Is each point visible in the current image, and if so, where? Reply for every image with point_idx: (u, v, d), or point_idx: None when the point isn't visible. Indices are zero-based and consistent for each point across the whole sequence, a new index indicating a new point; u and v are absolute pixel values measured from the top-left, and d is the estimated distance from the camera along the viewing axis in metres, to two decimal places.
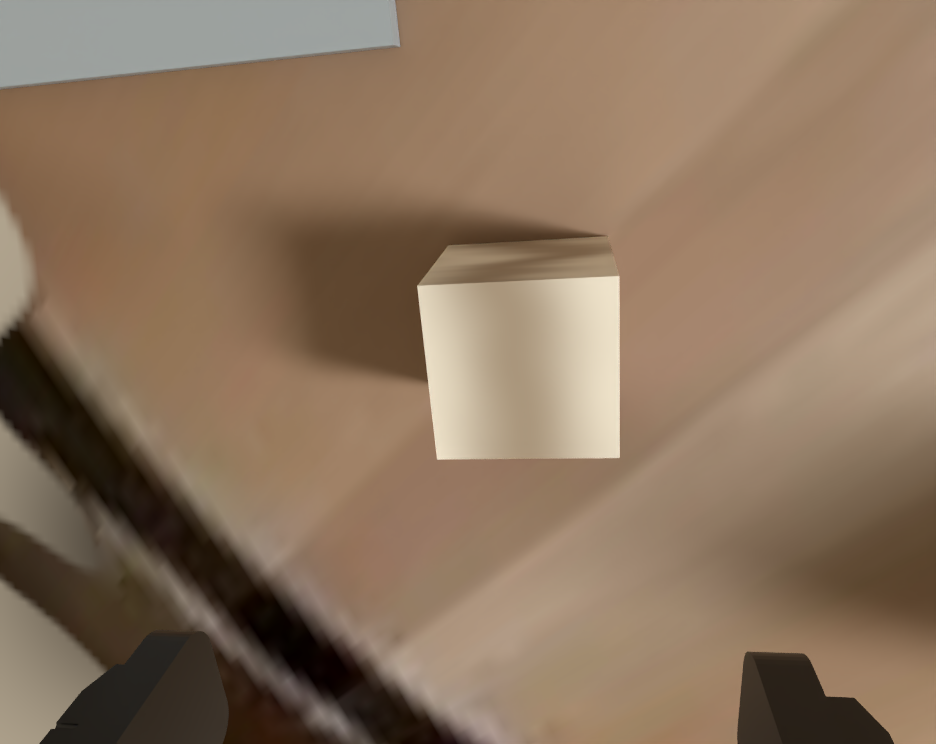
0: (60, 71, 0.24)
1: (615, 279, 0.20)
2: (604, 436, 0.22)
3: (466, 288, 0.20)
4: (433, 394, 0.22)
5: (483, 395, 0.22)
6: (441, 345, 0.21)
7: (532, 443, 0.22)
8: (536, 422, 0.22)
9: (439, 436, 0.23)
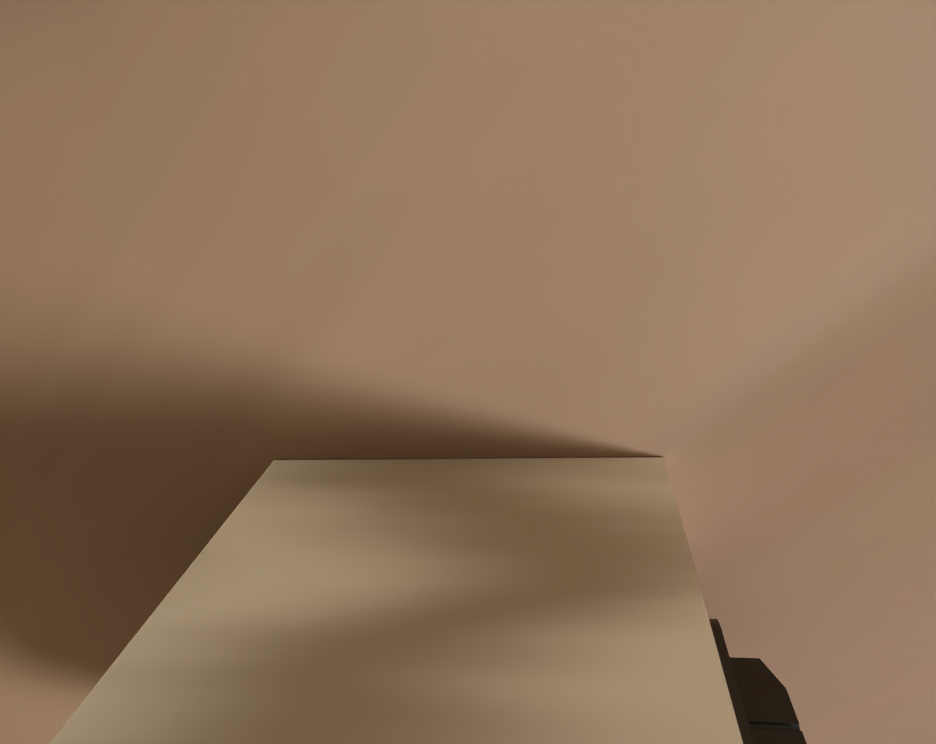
0: None
1: None
2: None
3: None
4: None
5: None
6: None
7: None
8: None
9: None
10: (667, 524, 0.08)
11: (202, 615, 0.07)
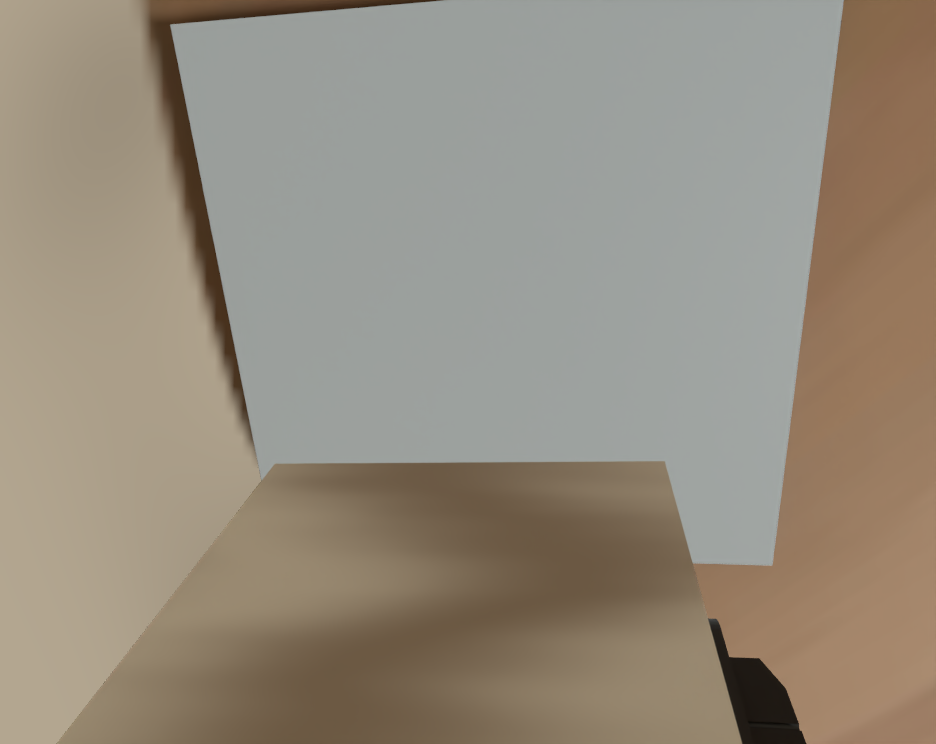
0: None
1: None
2: None
3: None
4: None
5: None
6: None
7: None
8: None
9: None
10: (667, 528, 0.08)
11: (204, 620, 0.08)
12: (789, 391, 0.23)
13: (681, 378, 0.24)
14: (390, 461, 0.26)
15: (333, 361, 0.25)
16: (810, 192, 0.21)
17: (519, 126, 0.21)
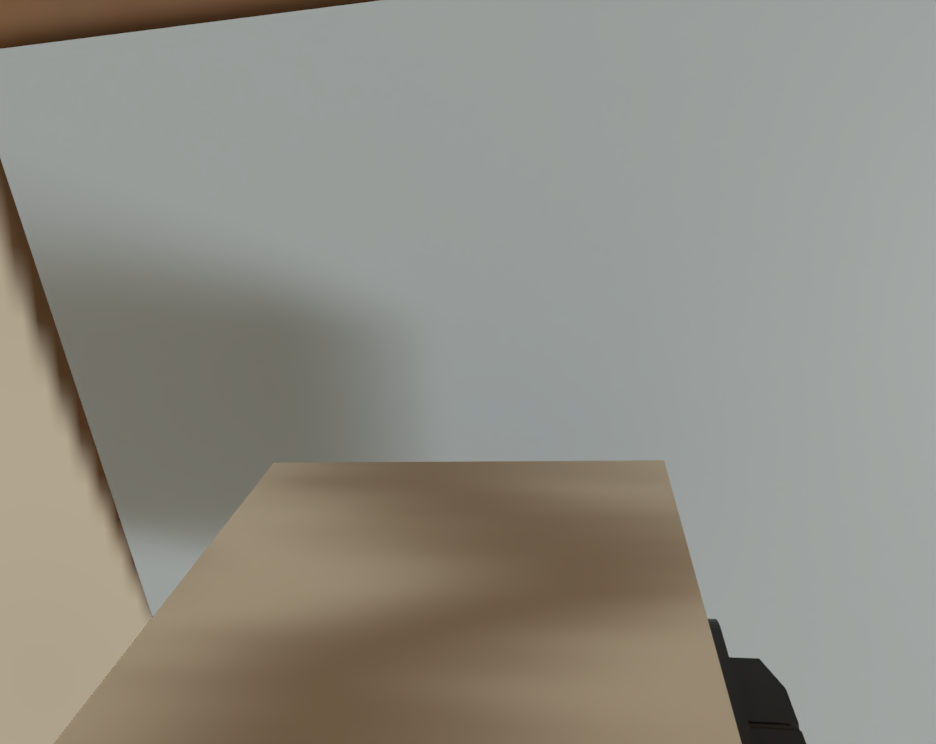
0: None
1: None
2: None
3: None
4: None
5: None
6: None
7: None
8: None
9: None
10: (667, 527, 0.08)
11: (203, 619, 0.07)
12: None
13: (801, 578, 0.15)
14: None
15: None
16: None
17: (538, 203, 0.13)
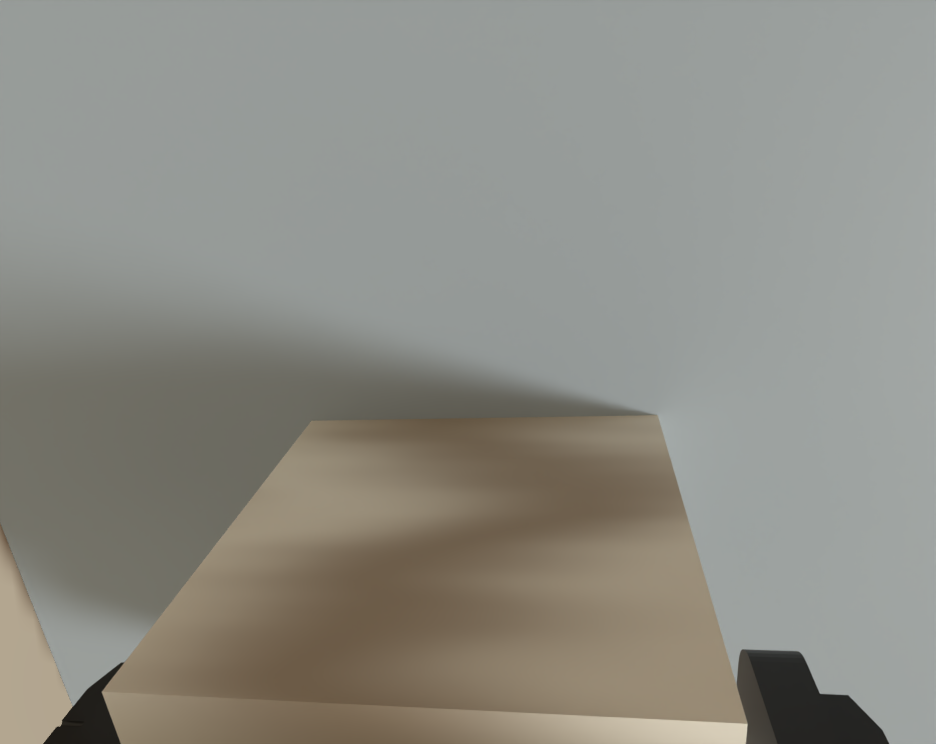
0: None
1: (733, 732, 0.06)
2: None
3: (249, 711, 0.06)
4: None
5: None
6: None
7: None
8: None
9: None
10: (659, 466, 0.10)
11: (265, 537, 0.09)
12: None
13: (823, 664, 0.13)
14: None
15: None
16: None
17: (511, 218, 0.10)
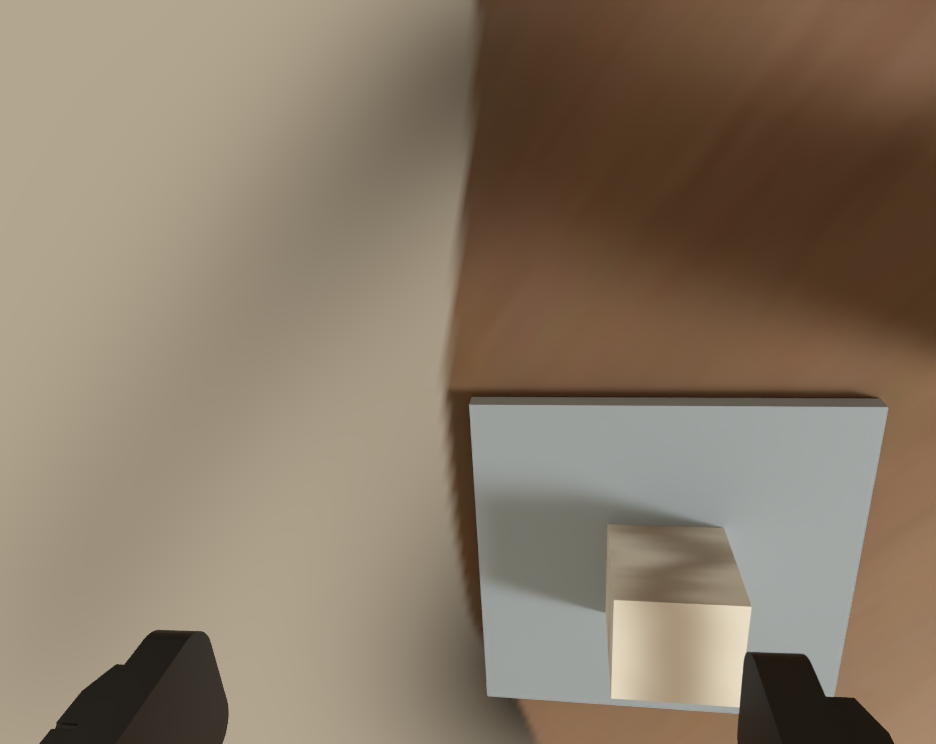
0: (613, 701, 0.41)
1: (748, 608, 0.30)
2: (730, 694, 0.32)
3: (647, 604, 0.31)
4: (614, 661, 0.32)
5: (649, 664, 0.32)
6: (624, 634, 0.32)
7: (679, 694, 0.33)
8: (685, 682, 0.32)
9: (614, 685, 0.33)
10: (726, 547, 0.34)
11: (623, 565, 0.33)
12: (845, 621, 0.37)
13: (775, 610, 0.37)
14: (576, 646, 0.40)
15: (545, 587, 0.39)
16: (862, 516, 0.34)
17: (683, 471, 0.35)
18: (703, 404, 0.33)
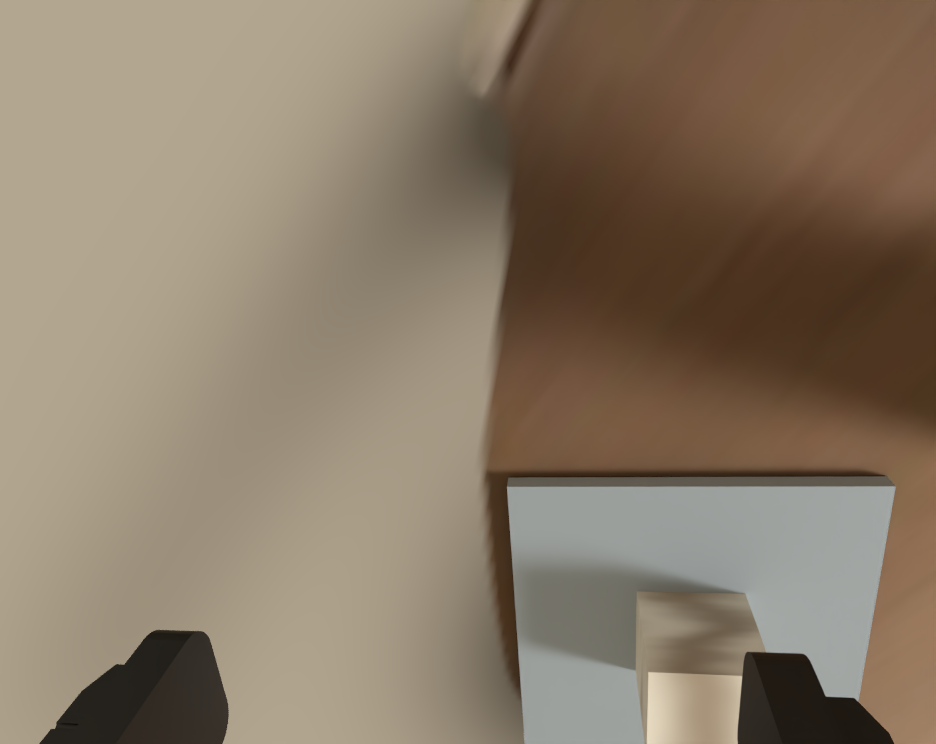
0: None
1: None
2: None
3: (679, 675, 0.34)
4: (649, 725, 0.35)
5: (682, 728, 0.35)
6: (658, 702, 0.35)
7: None
8: None
9: None
10: (749, 614, 0.37)
11: (654, 635, 0.36)
12: (859, 675, 0.40)
13: None
14: (608, 701, 0.43)
15: (579, 648, 0.42)
16: (873, 582, 0.37)
17: (707, 543, 0.38)
18: (725, 485, 0.36)
